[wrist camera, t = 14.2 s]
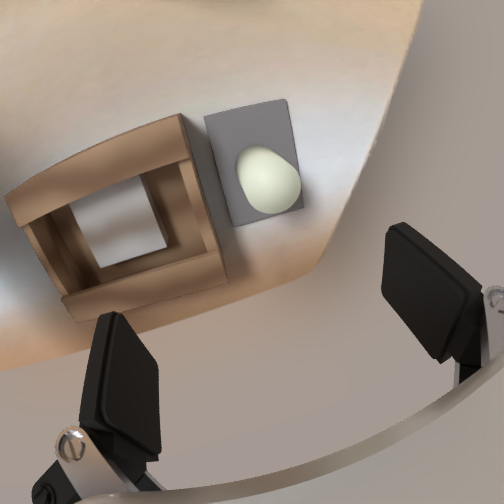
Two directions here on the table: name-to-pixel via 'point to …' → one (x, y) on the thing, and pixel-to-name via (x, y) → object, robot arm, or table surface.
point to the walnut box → (122, 222)
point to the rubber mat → (241, 136)
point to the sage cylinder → (267, 179)
